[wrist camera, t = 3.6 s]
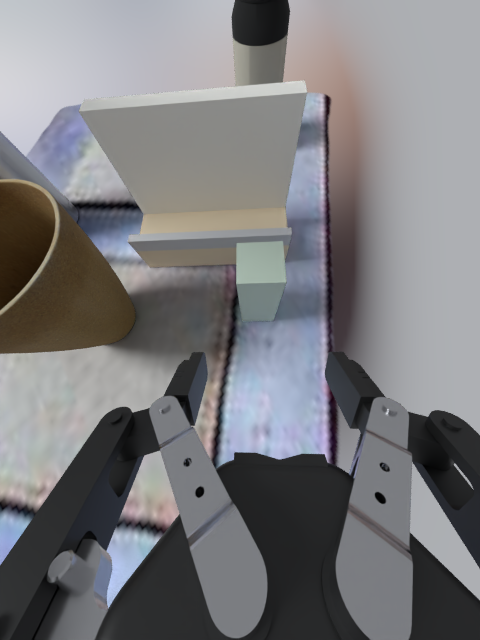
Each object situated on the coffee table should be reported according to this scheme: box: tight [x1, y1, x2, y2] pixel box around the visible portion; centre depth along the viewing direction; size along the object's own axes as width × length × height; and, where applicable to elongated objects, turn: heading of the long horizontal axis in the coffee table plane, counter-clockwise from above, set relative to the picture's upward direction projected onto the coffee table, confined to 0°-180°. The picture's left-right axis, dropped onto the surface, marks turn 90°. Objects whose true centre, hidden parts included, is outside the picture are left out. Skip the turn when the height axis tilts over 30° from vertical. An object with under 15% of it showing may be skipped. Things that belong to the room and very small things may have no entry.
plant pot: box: [0, 179, 136, 354], centre depth 21 cm, size 15×15×16 cm
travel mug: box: [232, 0, 290, 86], centre depth 32 cm, size 8×8×18 cm
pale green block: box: [236, 241, 287, 322], centre depth 23 cm, size 4×4×11 cm
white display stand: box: [79, 81, 307, 267], centre depth 25 cm, size 9×22×16 cm, turn 90°
